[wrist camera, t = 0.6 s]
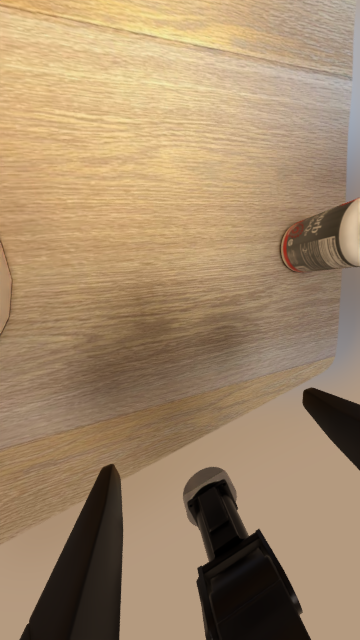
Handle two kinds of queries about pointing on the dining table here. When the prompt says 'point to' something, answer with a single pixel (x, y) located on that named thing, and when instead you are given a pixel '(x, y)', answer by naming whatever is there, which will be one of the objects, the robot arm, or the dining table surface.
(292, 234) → the pill bottle
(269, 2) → the dining table surface
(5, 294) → the container
